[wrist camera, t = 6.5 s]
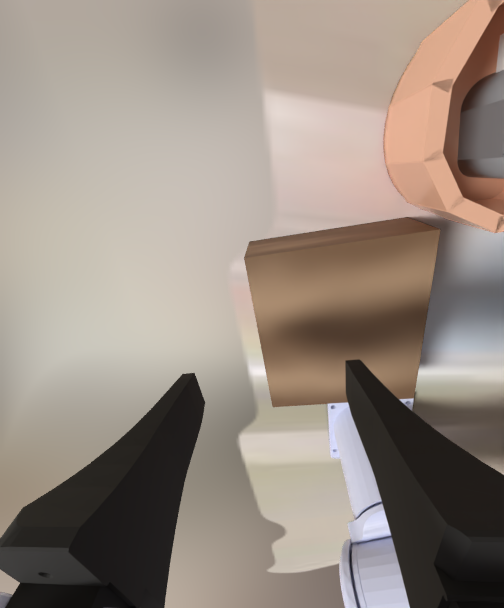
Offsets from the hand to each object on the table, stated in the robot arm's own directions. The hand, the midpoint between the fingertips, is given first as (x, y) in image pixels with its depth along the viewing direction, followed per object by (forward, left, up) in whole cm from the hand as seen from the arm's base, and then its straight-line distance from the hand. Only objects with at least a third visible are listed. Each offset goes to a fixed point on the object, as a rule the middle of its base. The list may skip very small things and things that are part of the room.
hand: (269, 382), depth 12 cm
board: (-2, -5, -10) cm, 11 cm away
